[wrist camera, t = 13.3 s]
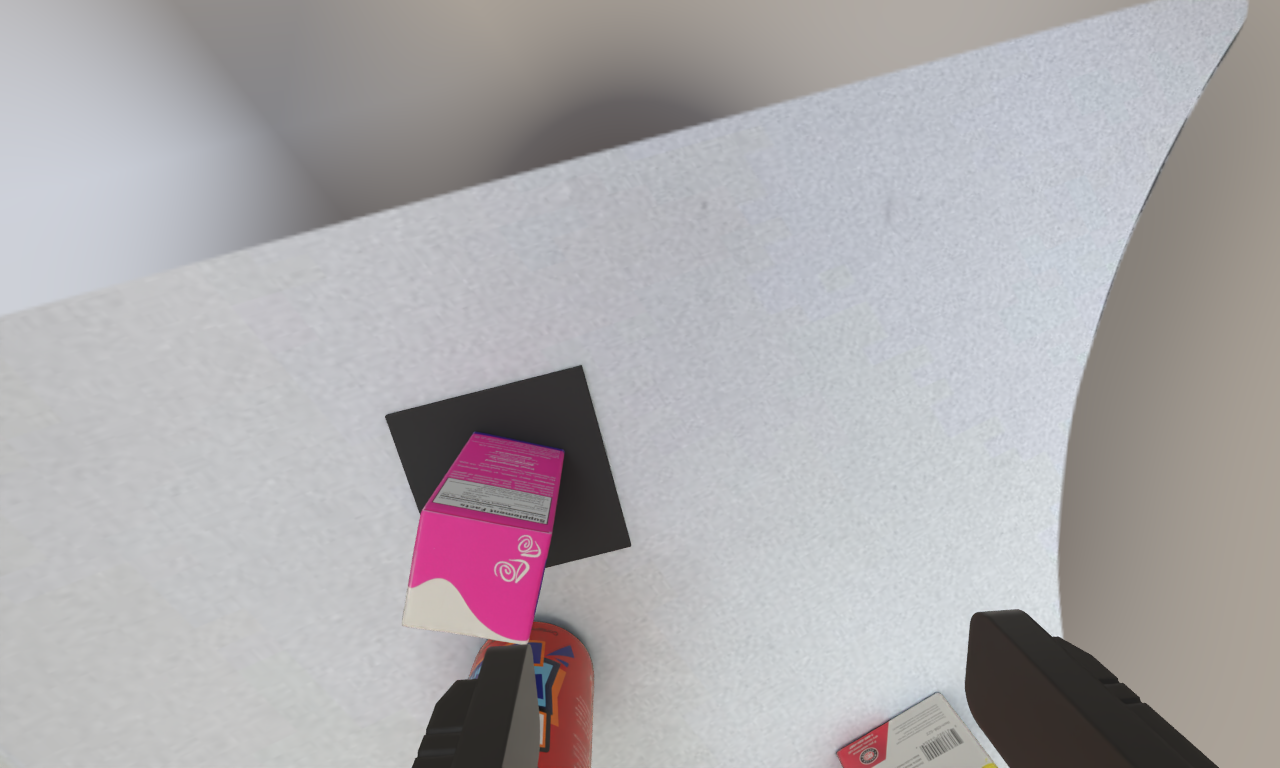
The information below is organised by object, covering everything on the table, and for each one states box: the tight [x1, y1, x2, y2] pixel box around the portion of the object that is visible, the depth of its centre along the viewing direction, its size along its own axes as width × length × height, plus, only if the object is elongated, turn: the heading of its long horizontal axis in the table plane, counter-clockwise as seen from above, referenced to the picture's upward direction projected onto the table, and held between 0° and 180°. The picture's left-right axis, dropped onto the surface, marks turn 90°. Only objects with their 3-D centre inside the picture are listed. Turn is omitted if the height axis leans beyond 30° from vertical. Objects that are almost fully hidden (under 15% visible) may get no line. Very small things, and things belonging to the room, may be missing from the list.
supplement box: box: [402, 432, 565, 645], centre depth 32 cm, size 6×6×12 cm
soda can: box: [468, 622, 594, 768], centre depth 33 cm, size 8×8×15 cm
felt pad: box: [385, 366, 631, 568], centre depth 38 cm, size 12×12×1 cm
